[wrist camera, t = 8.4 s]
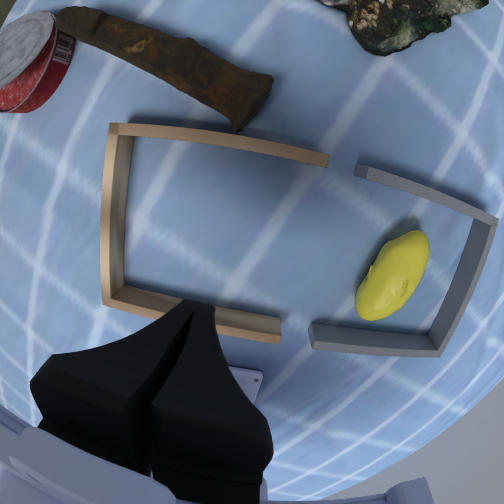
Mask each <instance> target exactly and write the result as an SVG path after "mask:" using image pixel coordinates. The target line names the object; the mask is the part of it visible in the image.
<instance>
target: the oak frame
mask: <svg viewBox="0 0 504 504" xmlns="http://www.w3.org/2000/svg"><path fill="white" fill-rule="evenodd" d="M134 136H142V137H154V138H164V139H173V140H182V141H190V142H197V143H205V144H211V145H218V146H224V147H231V148H236V149H242V150H248V151H253V152H258V153H264V154H269V155H273V156H278V157H283V158H288V159H292V160H296V161H301V162H305V163H309V164H313V165H317V166H321V167H325V168H327V165H328V160H329V156H330V155H328V154H324V153H320V152H316V151H312V150H308V149H304V148H299V147H295V146H291V145H286V144H282V143H277V142H272V141H267V140H262V139H257V138H251V137H246V136H240V135H234V134H228V133H221V132H214V131H207V130H199V129H191V128H183V127H173V126H162V125H150V124H134V123H110V124H109V130H108V137H107V144H106V152H105V161H104V170H103V182H102V196H101V217H100V268H101V288H102V303H103V305H105V306H108V307H112V308H115V309H119V310H122V311H126V312H129V313H133V314H137V315H140V316H144V317H148V318H152V319H156V320H157V319H158V318H160V317H161V316H163V315H164V314H166V313H167V312H168V311H170V310H171V309H172V308H173V307H175V306H176V305H177V304H178V303H180V302H181V301H182V300H184V299H182V298H177V297H173V296H169V295H164V294H160V293H156V292H152V291H148V290H144V289H139V288H135V287H132V286H128V285H124V231H125V213H126V199H127V188H128V178H129V169H130V161H131V153H132V146H133V139H134ZM204 304H205V303H204ZM209 305H210V304H209ZM213 306H214V307H215V308H216V310H215V324H216V330H217V334H222V335H227V336H233V337H238V338H243V339H249V340H255V341H261V342H267V343H273V344H279V342H280V339H281V324H280V317H274V316H268V315H262V314H257V313H251V312H246V311H240V310H235V309H230V308H225V307H220V306H215V305H213Z"/></svg>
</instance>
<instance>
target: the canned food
mask: <svg viewBox="0 0 504 504" xmlns="http://www.w3.org/2000/svg"><path fill="white" fill-rule="evenodd" d="M55 21H56V15H55V14H53V13H51V12H50V11H46V10H42V11H36V12H33V13H29V14H26V15H23V16H21V17H20V18H18V19H17V20H15V21H13V22H11V23H10V24H8V25H6V26H5V27H4V28H3V29H2V30H1V31H0V113H28V112H31V111H34V110H36V109H37V108H39V107H40V106H42V105H43V104H44V103H45V102H46V101H47V100H48V99H49V98H50V97H51V96H52V94H53V93H54V92H55V91H56V89H57V88H58V86H59V85H60V83H61V81H62V80H63V78H64V76H65V74H66V72H67V70H68V67H69V65H70V63H71V59H72V56H73V53H74V47H75V37H74V36H72V35H70V34H66V33H64V32H62V31H61V30H59V29H58V28H56V27H55V26H54V24H55Z"/></svg>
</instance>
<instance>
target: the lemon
mask: <svg viewBox="0 0 504 504" xmlns="http://www.w3.org/2000/svg"><path fill="white" fill-rule="evenodd" d="M428 258H429V243H428V239H427V236H426V234H425V233H424V232H423V231H420V230H413V231H409V232H407V233H405V234H403V235H402V236H400V237H398V238H397V239H394V240H391V241H388V242H387V243H386V244H385V245H384V246H383V247H382V249H381V250H380V252H379V254H378V256H377V258H376V260H375V262H374V264H373V265H371V266H370V270H369V272H368V274H367V276H366V277H365V279H364V280H363V282H362V283H361V285H360V286H359V288H358V290H357V292H356V300H355V307H356V311H357V313H358V315H359V316H360V317H361V318H362V319H364V320H368V321H374V320H380V319H383V318H386V317H388V316H389V315H391V314H393V313H394V312H396V311H397V310H398V309H400V308H401V307H402V306H403V305H404V304H405V303H406V301H407V300H408V299H409V297H410V296H411V295H412V294H413V292H414V290H415V289H416V287H417V285H418V283H419V281H420V280H421V278H422V275H423V273H424V271H425V268H426V265H427V262H428Z"/></svg>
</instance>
